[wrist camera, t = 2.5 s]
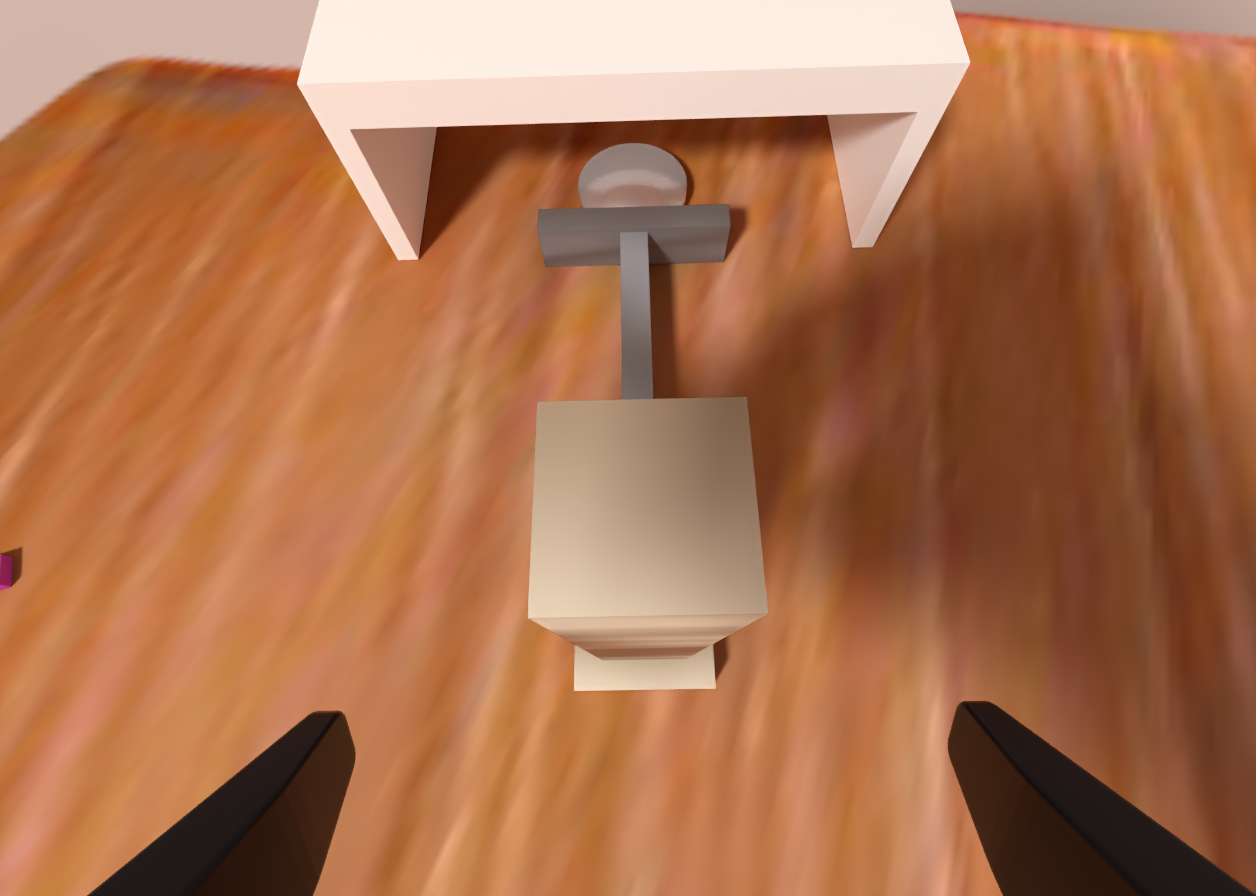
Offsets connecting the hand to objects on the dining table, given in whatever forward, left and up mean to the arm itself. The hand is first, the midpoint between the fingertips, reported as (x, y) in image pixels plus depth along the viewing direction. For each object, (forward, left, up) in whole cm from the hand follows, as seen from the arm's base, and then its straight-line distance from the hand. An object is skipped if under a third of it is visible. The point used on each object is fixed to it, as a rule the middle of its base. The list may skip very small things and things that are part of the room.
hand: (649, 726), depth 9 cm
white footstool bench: (+14, -14, -9) cm, 23 cm away
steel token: (+14, -14, -10) cm, 22 cm away
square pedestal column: (+6, -6, -9) cm, 13 cm away
